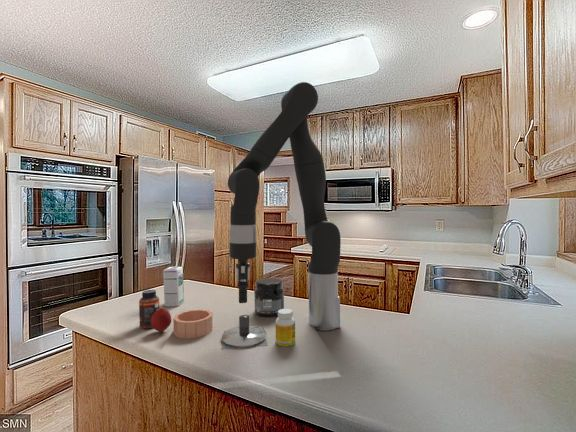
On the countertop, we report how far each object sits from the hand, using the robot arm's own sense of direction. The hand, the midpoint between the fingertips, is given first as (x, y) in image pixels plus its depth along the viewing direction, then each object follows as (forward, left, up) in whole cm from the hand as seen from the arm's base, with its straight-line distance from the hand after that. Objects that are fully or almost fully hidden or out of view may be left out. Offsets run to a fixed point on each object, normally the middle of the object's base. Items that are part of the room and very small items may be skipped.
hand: (242, 298), depth 86 cm
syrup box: (+27, -39, -13) cm, 49 cm away
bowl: (+15, -8, -12) cm, 21 cm away
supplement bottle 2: (-11, +5, -13) cm, 18 cm away
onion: (+25, -11, -13) cm, 30 cm away
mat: (0, 0, -12) cm, 12 cm away
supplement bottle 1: (+30, -17, -13) cm, 36 cm away
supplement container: (-9, -20, -13) cm, 25 cm away
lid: (0, 0, -11) cm, 11 cm away
